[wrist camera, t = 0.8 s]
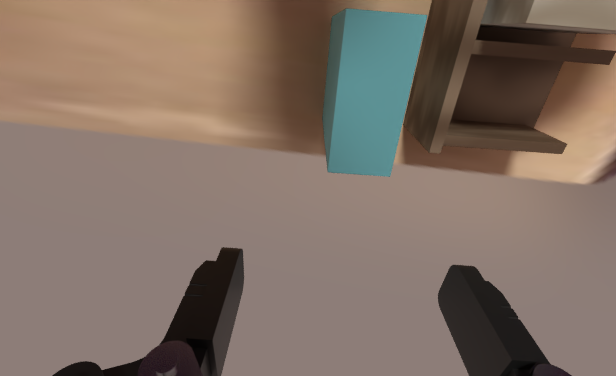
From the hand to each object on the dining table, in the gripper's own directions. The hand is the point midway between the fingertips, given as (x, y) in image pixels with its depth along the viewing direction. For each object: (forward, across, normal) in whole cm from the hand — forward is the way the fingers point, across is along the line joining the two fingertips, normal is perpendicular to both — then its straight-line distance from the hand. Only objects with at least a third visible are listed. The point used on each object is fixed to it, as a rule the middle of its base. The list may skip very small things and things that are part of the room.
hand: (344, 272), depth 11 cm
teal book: (+25, -2, -4) cm, 25 cm away
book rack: (+25, -16, -7) cm, 30 cm away
